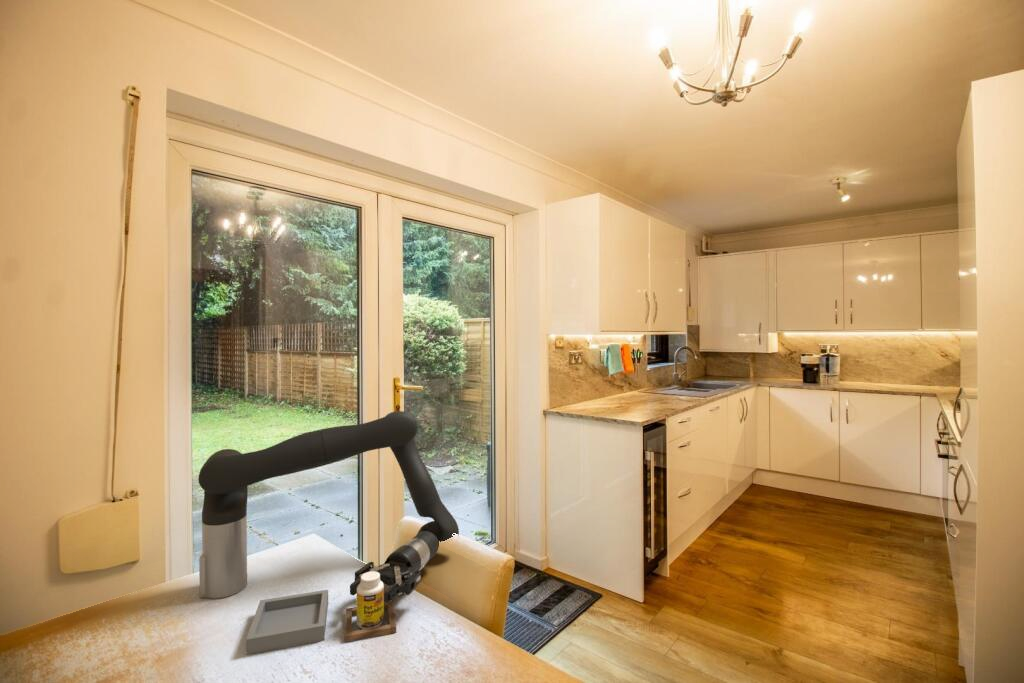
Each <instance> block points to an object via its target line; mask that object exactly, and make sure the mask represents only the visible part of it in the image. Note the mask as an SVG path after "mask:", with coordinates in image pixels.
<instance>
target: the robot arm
mask: <svg viewBox="0 0 1024 683" xmlns="http://www.w3.org/2000/svg"><path fill="white" fill-rule="evenodd" d="M418 429H419V425H418V422H417V419H416V418H415V417H414V416H413V415H412V414H410V413H408V412H406V411H402V410H399V411H398V410H397V411H392V412H389V413H387V414H386V415H385V416H383V417H381V418H377V419H374V420H370V421H368V422H364V423H363V422H362V423H359V424H348V425H340V426H332V427H327V428H325V427H324V428H322V429H317V430H313V431H308V432H305V433H301V434H298V435H295V436H293V437H290V438H287V439H286V440H283V441H281V442H279V443H276V444H274V445H272V446H269V447H267V448H264V449H259V450H257V451H256V450H255V451H250V452H245V453H241V452H240V451H239V450H236V449H232V448H226V449H225V448H224V449H220V450H217V451H215V452H213V453H212V454H211V455H210V456H209V457H208V459H206V460H205V462H204V464H203V465H202V467H201V468H200V471H199V474H198V484H199V486H200V488H201V489H203V491H204V492H203V495H204V496H203V504H202V511H201V541H202V543H201V544H202V545H201V546H202V547H201V549H202V550H201V552H202V554H201V555H200V556H199V564H198V565H199V566H198V567H199V599H200V598H201V599H202V598H206V599H222V598H226V597H227V598H228V597H231V596H233V595H235V594H237V593H239V592H241V591H243V590H244V589H245V588H246V587H247V585H248V542H247V541H248V539H247V538H248V530H247V529H248V528H247V520H248V519H247V515H248V514H247V510H248V509H247V508H248V495H249V494H248V491H249V490H248V487H249V486H252V485H254V484H256V483H259V482H260V483H261V482H262V481H266V480H268V479H269V480H270V479H272V478H277V477H282V476H286V475H288V476H289V475H292V474H297V473H299V472H303V471H309V470H312V469H317V468H320V467H324V466H328V465H331V464H335V463H337V462H340V461H344V460H346V459H349V458H352V457H355V456H357V455H360V454H364V453H366V452H370V451H374V450H379V449H381V450H382V449H385V448H389V449H390V450H391V451H392V453H393V455H394V457H395V459H396V462H397V463H398V465H399V468H400V470H401V473H402V475H403V478H404V480H405V484H406V486H407V489H408V492H409V495H410V498H411V499H412V500H411V501H412V502H413V505H414V507H415V510H416V512H417V514H418V515H419V517H422V518H429V519H432V520H433V521H428V522H427V523H425V524H423V525H422V526H421V527H420V528H419V530H418V532H417V533H416V534H415V535H414V536H413V537H412V538H411V539H409V540H408V541H406V542H404V543H403V544H401V545H400V546H399V547H398V548H397V549H395V550H394V551H392V552H391V553H390V554H389V555H388V556H387V558H385V559H386V560H385V561H384V563H382V564H380V565H378V566H377V565H375V563H374V561H370V562H368V563H366V564H365V565H363V566H362V567H360V568H359V569H357V570H356V571H355V572H354V581H353V582H351V584H350V585H349V595H350V596H355V595H357V587H358V585H359V584H360V582H361V576H362V575H363V574H364V573H367V572H371V571H375V572H378V573H379V574H380V581H382V582H383V584H384V585H386V586H389V588H388V589H387V590H384V602H386V603H388V602H389V601H393V600H394V599H395V598H396V597H397V596H400V595H401V594H403V593H404V594H405V595H406V596H409V595H410V594H412V592H414V590H415V589H416V588H417V587H418V586H419V584H421V570H422V569H423V568H424V567H425V566H426V565H427V563H428V562H429V561H431V559H433V557H434V556H435V555H436V554H437V552H438V551H439V548H440V547H439V541H440V542H441V541H445V540H447V539H449V538H451V537H453V536H452V534H453V533H456V534H458V536H459V533H460V531H459V530H460V529H459V525H458V523H457V521H456V519H455V518H454V516H453V515H452V514H451V512H450V511H449V509H448V508H447V507H446V506H445V504H444V503H443V501H442V500H441V497H440V495H439V493H438V490H437V488H436V484H435V483H434V480H433V478H432V476H431V473H430V472H429V471H428V469H427V467H426V465H425V463H424V461H423V460H422V457H421V455H420V453H419V450H418V447H417V445H416V440H415V437H416V435H417V433H418ZM453 535H455V534H453Z"/></svg>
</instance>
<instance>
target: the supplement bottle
mask: <svg viewBox="0 0 1024 683" xmlns="http://www.w3.org/2000/svg"><path fill="white" fill-rule="evenodd" d="M384 585H385V584H383V582H382V581H380V574H379V573H378V572H375V571H371V572H367V573H364V574H363V575H362V576H361V582H360V584H359V585H358V587H357V593H356V607H357V615H356V625H357V627H358V628H359V629H360V630H363V629H368V628H373V627H379V626H382V624H383V622H384V618H385V617H384V616H385V614H384V613H385V610H384V593H385V586H384Z"/></svg>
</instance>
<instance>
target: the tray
mask: <svg viewBox="0 0 1024 683" xmlns="http://www.w3.org/2000/svg"><path fill="white" fill-rule="evenodd" d="M328 608H329V589H323V590H317V591H311V592H304V593H298V594H292V595H291V594H290V595H285V596H279V597H273V598H267V599H261V600H259V603H258V605H257V609H256V611H255V614H254V616H253V619H252V622H251V625H250V627H249V631H248V633H247V636H246V639H245V655H246V656H248V655H253V654H258V653H263V652H270V651H273V650H280V649H285V648H290V647H291V648H292V647H295V646H301V645H300V644H302V645H306V643H307V644H311V643H316V642H322V641H323V642H324V641H325V638H326V628H327V627H326V626H327V618H328Z"/></svg>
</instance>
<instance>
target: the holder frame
mask: <svg viewBox="0 0 1024 683" xmlns="http://www.w3.org/2000/svg"><path fill="white" fill-rule="evenodd" d="M384 611H387V614H388V624H386V625H379V626H378V627H373V628H368V629H359V630H354V631H353V630H352V626H353V623H352V622H353V617H354V616H355V617H356V616H357V606H354V607H347V608H345V626H344V627H345V628H344V629H345V630H344V643H349V642H354V641H359V639H360V640H364V639H369V638H375V637H380V636H385V635H392V634H395V633H397V620H396V616H395V615H396V614H395V606H394V601H393V600H391V601H389V602H388V603H386V602H384Z"/></svg>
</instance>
